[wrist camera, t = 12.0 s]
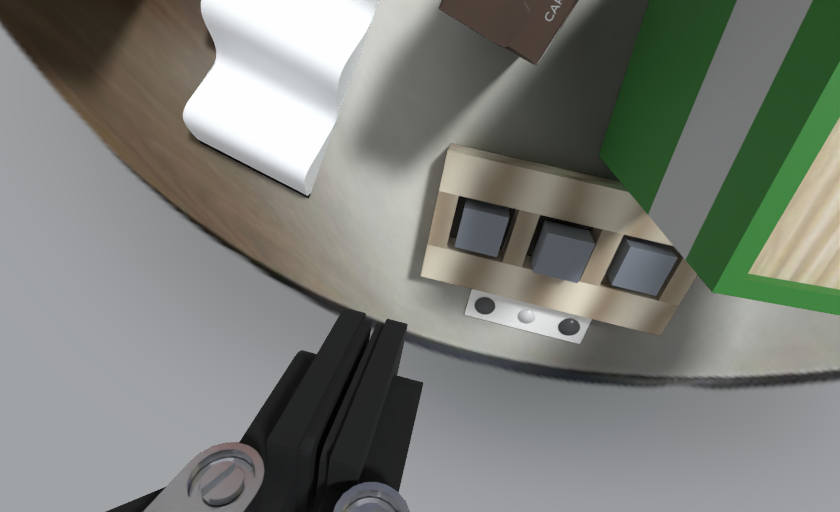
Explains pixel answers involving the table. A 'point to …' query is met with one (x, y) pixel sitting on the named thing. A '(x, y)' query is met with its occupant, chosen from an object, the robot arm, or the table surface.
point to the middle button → (562, 251)
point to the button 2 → (640, 265)
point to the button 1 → (482, 227)
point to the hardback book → (738, 143)
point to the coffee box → (513, 22)
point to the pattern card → (527, 316)
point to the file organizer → (278, 82)
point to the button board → (531, 197)
